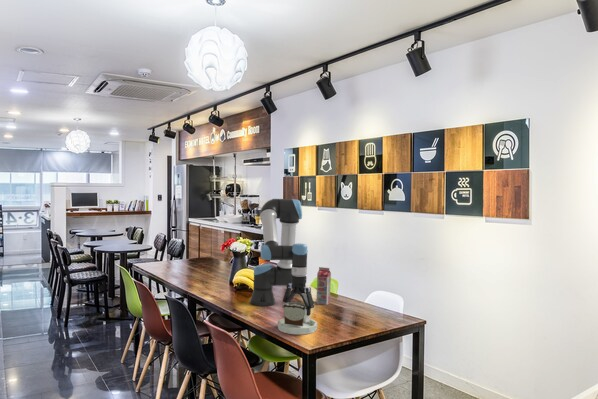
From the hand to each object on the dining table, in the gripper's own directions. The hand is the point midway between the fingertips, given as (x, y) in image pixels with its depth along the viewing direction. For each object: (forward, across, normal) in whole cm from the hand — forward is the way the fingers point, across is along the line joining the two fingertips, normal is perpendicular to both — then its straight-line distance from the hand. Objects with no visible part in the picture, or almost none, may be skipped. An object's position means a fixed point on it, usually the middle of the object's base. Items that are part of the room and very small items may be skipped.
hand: (297, 319), depth 213 cm
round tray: (+5, 0, 0) cm, 5 cm away
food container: (+3, -1, 0) cm, 3 cm away
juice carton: (+5, -23, +51) cm, 56 cm away
